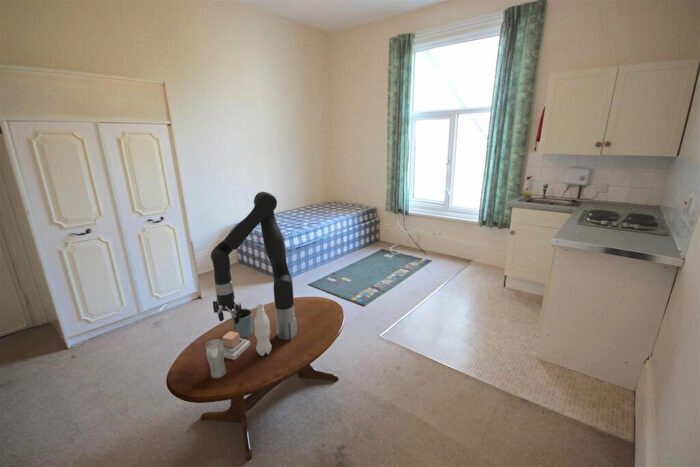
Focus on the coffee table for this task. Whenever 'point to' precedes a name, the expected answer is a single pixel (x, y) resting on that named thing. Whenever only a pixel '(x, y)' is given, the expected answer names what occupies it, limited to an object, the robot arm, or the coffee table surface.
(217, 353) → the beer glass
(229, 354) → the grey stand
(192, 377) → the coffee table surface
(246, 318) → the teal cup
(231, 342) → the terracotta block
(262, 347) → the water bottle
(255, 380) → the coffee table surface
